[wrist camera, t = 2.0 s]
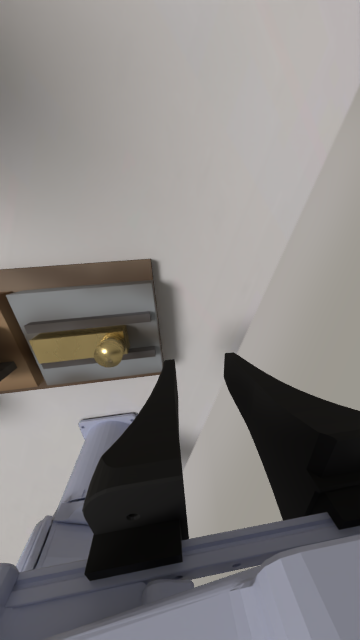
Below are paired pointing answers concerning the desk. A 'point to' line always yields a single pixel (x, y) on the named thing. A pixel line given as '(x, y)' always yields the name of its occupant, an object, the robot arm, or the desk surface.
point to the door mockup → (76, 321)
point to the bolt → (83, 345)
